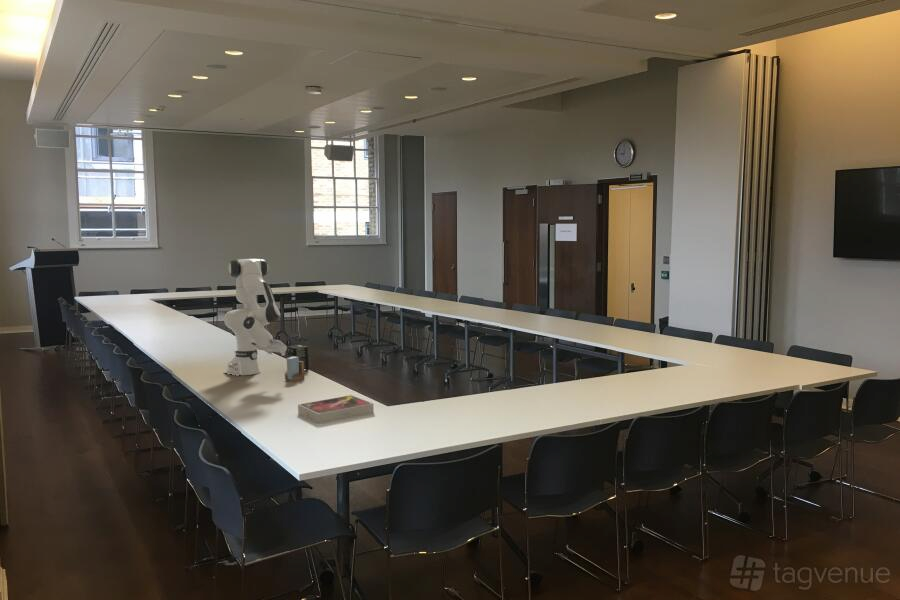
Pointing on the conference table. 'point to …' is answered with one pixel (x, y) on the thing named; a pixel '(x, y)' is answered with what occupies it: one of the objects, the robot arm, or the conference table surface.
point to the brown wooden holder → (297, 376)
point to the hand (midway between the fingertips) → (277, 353)
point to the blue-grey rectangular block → (292, 366)
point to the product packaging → (335, 409)
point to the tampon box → (299, 353)
